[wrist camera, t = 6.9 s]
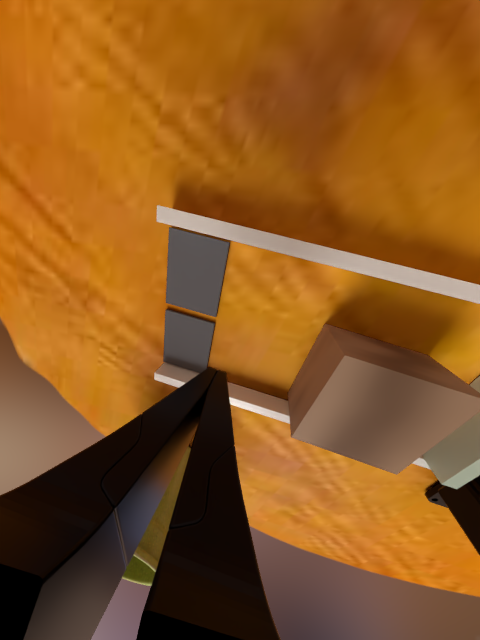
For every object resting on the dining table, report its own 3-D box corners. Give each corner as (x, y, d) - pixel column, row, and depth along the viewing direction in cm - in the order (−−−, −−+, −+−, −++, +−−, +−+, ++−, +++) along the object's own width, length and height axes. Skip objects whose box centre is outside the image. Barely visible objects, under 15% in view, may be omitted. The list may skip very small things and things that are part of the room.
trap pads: (229, 242, 11) (229, 242, 11) (205, 373, 16) (205, 374, 15) (170, 227, 11) (169, 227, 11) (164, 360, 16) (163, 361, 16)
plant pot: (135, 453, 24) (67, 556, 16) (131, 407, 20) (38, 514, 12) (200, 476, 23) (161, 595, 15) (209, 433, 19) (164, 565, 11)
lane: (576, 310, 9) (702, 338, 6) (416, 448, 15) (448, 494, 12) (171, 209, 11) (137, 198, 8) (164, 368, 16) (142, 393, 14)
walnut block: (425, 353, 12) (492, 402, 8) (367, 418, 15) (396, 474, 11) (324, 322, 12) (344, 355, 9) (287, 391, 15) (291, 437, 12)
